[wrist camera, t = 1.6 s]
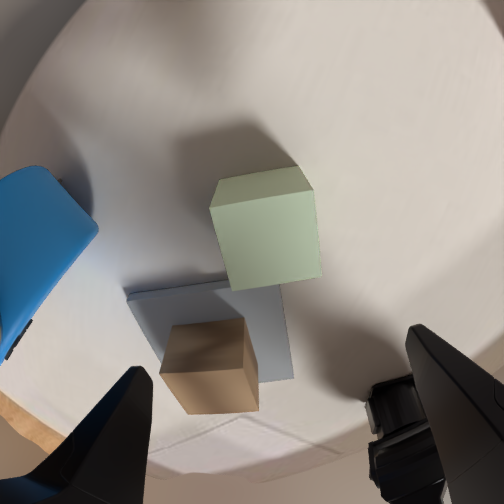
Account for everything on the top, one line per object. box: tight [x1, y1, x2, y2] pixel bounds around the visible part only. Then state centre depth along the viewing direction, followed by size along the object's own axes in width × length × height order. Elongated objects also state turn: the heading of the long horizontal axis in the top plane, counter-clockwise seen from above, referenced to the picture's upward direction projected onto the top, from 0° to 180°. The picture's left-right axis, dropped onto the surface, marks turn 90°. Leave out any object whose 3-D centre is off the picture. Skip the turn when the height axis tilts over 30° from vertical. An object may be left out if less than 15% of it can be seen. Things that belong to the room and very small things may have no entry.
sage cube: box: [209, 166, 322, 291], centre depth 17 cm, size 5×5×5 cm
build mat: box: [126, 280, 294, 383], centre depth 25 cm, size 12×12×1 cm
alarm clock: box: [0, 166, 99, 366], centre depth 13 cm, size 13×6×15 cm, turn 129°
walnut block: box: [159, 317, 259, 415], centre depth 22 cm, size 6×6×5 cm
